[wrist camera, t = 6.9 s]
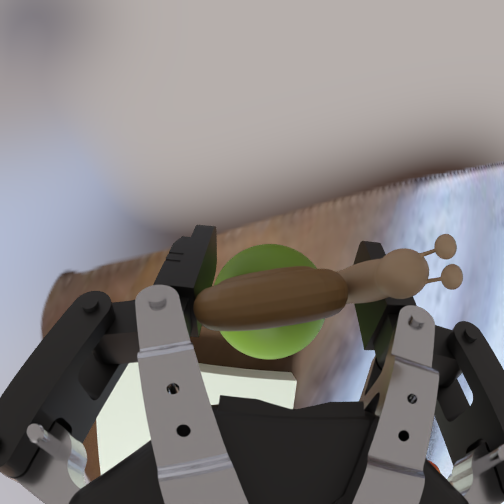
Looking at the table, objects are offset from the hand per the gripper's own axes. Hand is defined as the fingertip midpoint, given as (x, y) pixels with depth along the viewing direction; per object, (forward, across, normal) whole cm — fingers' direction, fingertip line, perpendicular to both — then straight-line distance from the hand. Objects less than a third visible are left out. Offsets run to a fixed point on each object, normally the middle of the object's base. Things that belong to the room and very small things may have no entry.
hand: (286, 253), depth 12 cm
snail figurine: (+3, 0, +5) cm, 6 cm away
